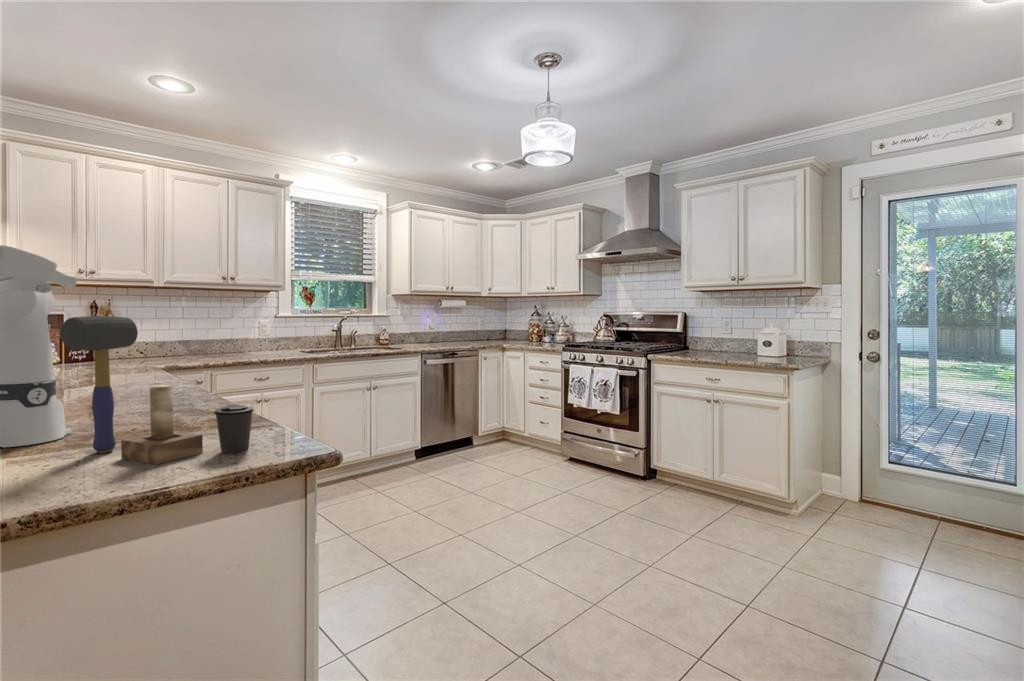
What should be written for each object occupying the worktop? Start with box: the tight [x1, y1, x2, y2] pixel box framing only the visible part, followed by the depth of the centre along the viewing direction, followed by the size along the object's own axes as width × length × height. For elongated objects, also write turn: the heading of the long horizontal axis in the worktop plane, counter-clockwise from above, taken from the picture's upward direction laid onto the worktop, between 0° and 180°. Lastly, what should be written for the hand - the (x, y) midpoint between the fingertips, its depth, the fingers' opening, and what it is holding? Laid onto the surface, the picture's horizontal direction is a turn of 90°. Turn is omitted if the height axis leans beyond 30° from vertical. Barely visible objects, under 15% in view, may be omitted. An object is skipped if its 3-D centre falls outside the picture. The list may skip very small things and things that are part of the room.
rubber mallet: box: [60, 315, 139, 454], centre depth 114 cm, size 12×8×30 cm, turn 167°
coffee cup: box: [213, 404, 255, 454], centre depth 116 cm, size 8×8×10 cm
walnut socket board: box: [120, 430, 204, 465], centre depth 112 cm, size 11×10×4 cm
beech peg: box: [149, 384, 174, 441], centre depth 111 cm, size 4×4×15 cm
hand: (61, 286), depth 97 cm, fingers open, 8 cm apart
